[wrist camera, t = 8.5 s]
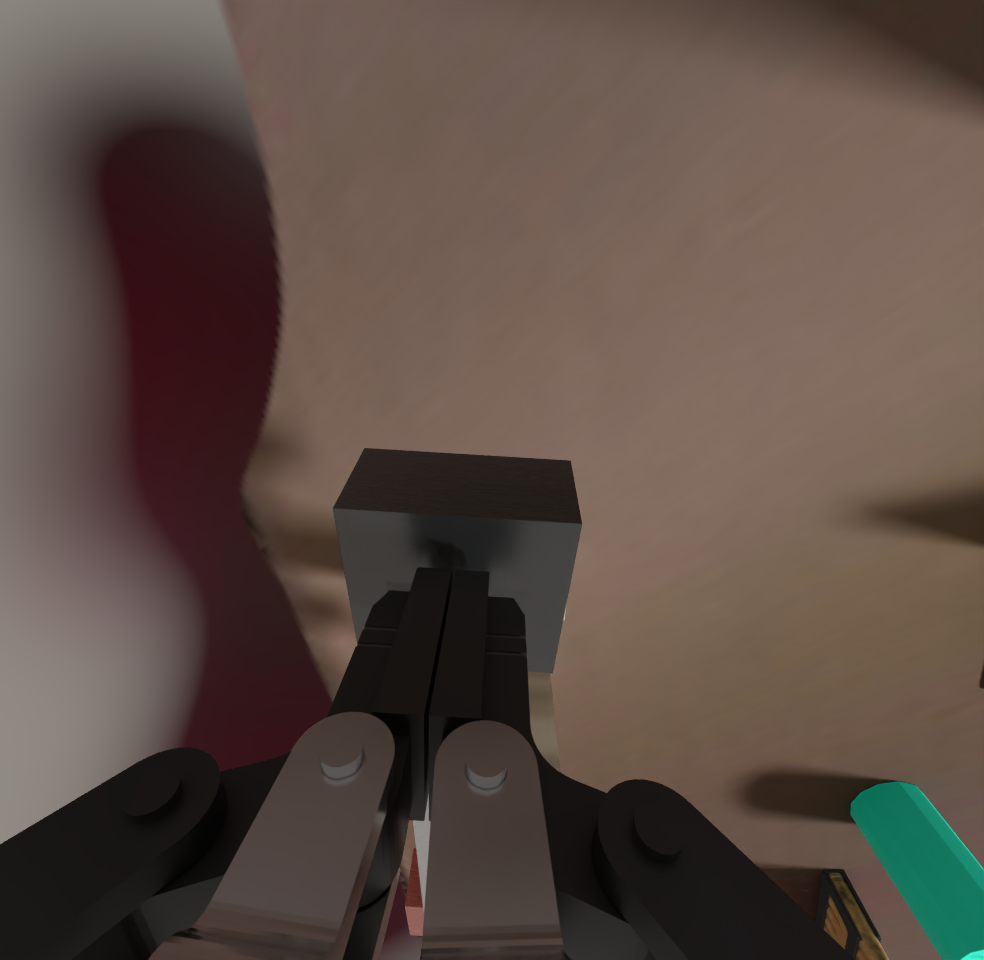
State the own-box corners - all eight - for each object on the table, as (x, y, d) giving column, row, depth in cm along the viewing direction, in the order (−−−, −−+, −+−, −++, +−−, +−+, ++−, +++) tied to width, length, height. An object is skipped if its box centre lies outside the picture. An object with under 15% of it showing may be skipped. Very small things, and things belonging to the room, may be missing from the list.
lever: (389, 399, 14) (332, 508, 9) (561, 409, 14) (582, 523, 9) (425, 826, 31) (410, 934, 26) (502, 831, 31) (499, 941, 26)
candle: (909, 827, 42) (1053, 1024, 31) (840, 824, 42) (958, 1020, 31) (935, 782, 39) (1100, 978, 28) (861, 780, 40) (997, 974, 29)
